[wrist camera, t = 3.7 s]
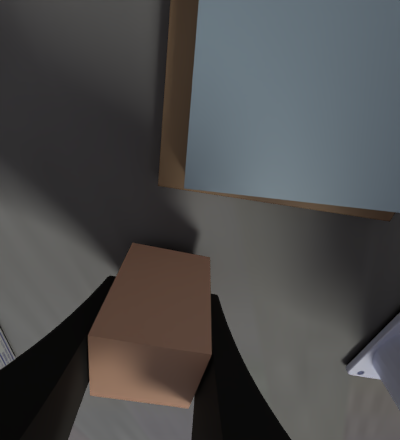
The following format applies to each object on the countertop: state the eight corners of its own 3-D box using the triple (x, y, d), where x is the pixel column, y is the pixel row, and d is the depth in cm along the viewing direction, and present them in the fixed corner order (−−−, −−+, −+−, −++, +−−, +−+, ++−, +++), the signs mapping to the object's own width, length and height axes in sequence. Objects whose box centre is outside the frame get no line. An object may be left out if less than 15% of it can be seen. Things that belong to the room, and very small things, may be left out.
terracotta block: (210, 257, 12) (211, 354, 8) (194, 308, 14) (188, 408, 10) (132, 242, 12) (87, 335, 7) (127, 296, 14) (90, 395, 9)
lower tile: (564, -123, 7) (650, -175, 5) (370, 207, 12) (389, 221, 11) (194, -217, 6) (190, -300, 5) (163, 174, 12) (157, 185, 10)
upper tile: (568, -124, 6) (672, -185, 5) (386, 198, 10) (412, 214, 9) (216, -182, 6) (219, -264, 4) (186, 175, 10) (183, 188, 9)
